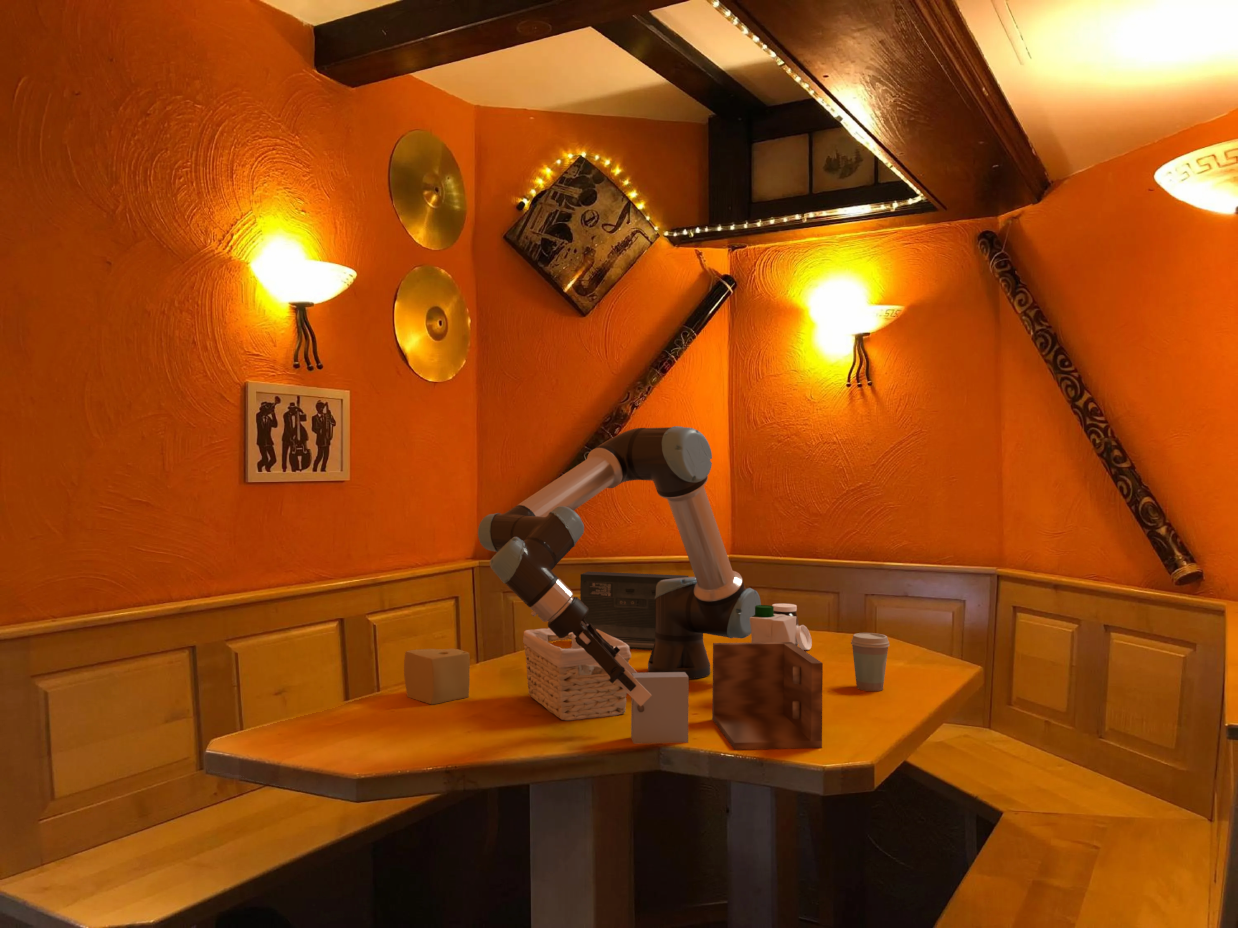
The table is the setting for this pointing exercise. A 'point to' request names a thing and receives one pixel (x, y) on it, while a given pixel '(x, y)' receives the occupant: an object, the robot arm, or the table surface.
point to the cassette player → (622, 605)
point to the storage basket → (571, 677)
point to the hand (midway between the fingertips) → (641, 691)
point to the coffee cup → (870, 660)
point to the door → (661, 709)
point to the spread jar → (801, 631)
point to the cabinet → (767, 695)
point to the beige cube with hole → (436, 675)
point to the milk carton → (772, 626)
